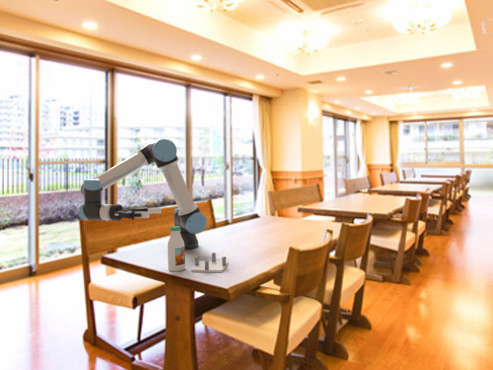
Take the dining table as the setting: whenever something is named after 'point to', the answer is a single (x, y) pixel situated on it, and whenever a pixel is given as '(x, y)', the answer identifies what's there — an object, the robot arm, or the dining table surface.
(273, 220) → the dining table surface
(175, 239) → the milk bottle
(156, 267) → the dining table surface
